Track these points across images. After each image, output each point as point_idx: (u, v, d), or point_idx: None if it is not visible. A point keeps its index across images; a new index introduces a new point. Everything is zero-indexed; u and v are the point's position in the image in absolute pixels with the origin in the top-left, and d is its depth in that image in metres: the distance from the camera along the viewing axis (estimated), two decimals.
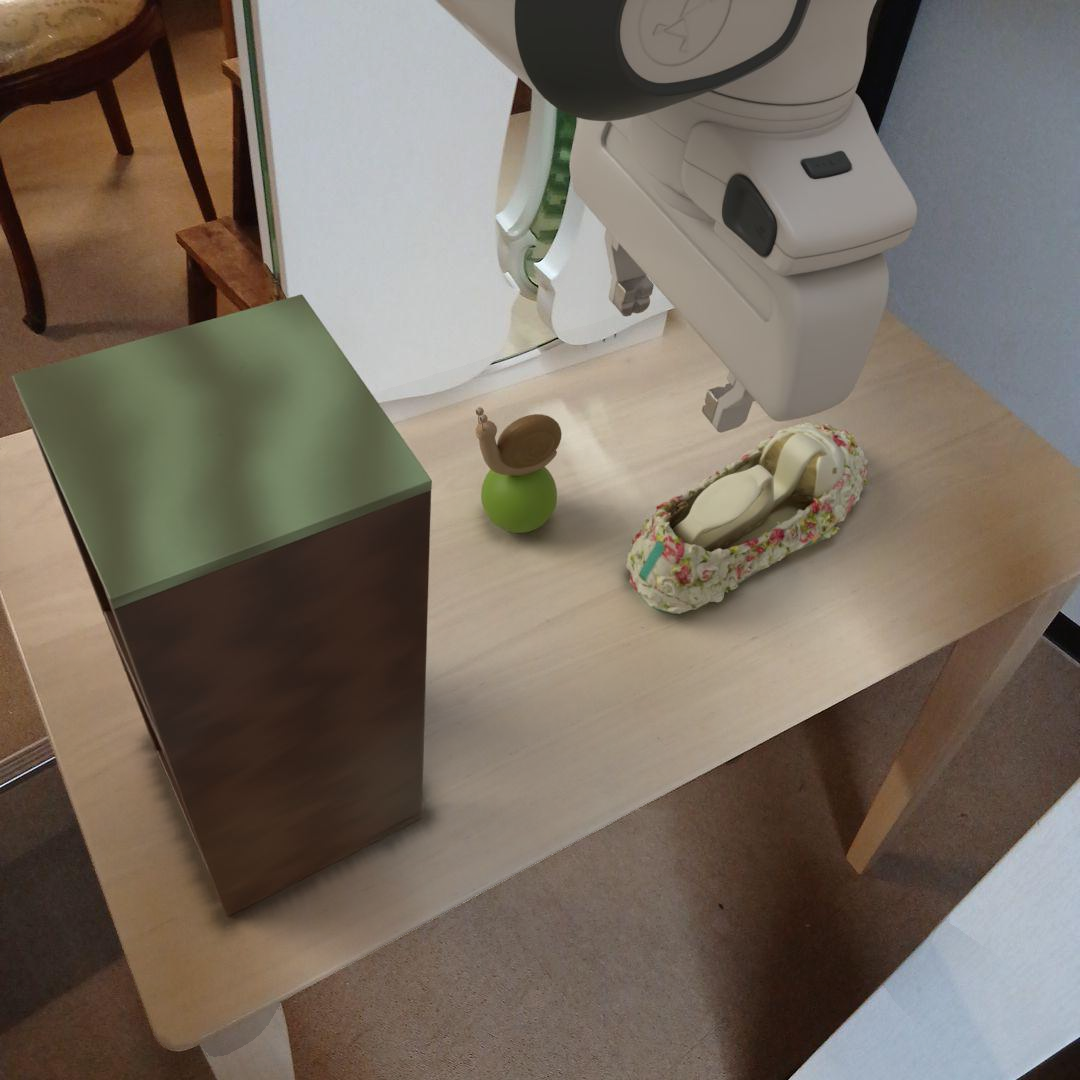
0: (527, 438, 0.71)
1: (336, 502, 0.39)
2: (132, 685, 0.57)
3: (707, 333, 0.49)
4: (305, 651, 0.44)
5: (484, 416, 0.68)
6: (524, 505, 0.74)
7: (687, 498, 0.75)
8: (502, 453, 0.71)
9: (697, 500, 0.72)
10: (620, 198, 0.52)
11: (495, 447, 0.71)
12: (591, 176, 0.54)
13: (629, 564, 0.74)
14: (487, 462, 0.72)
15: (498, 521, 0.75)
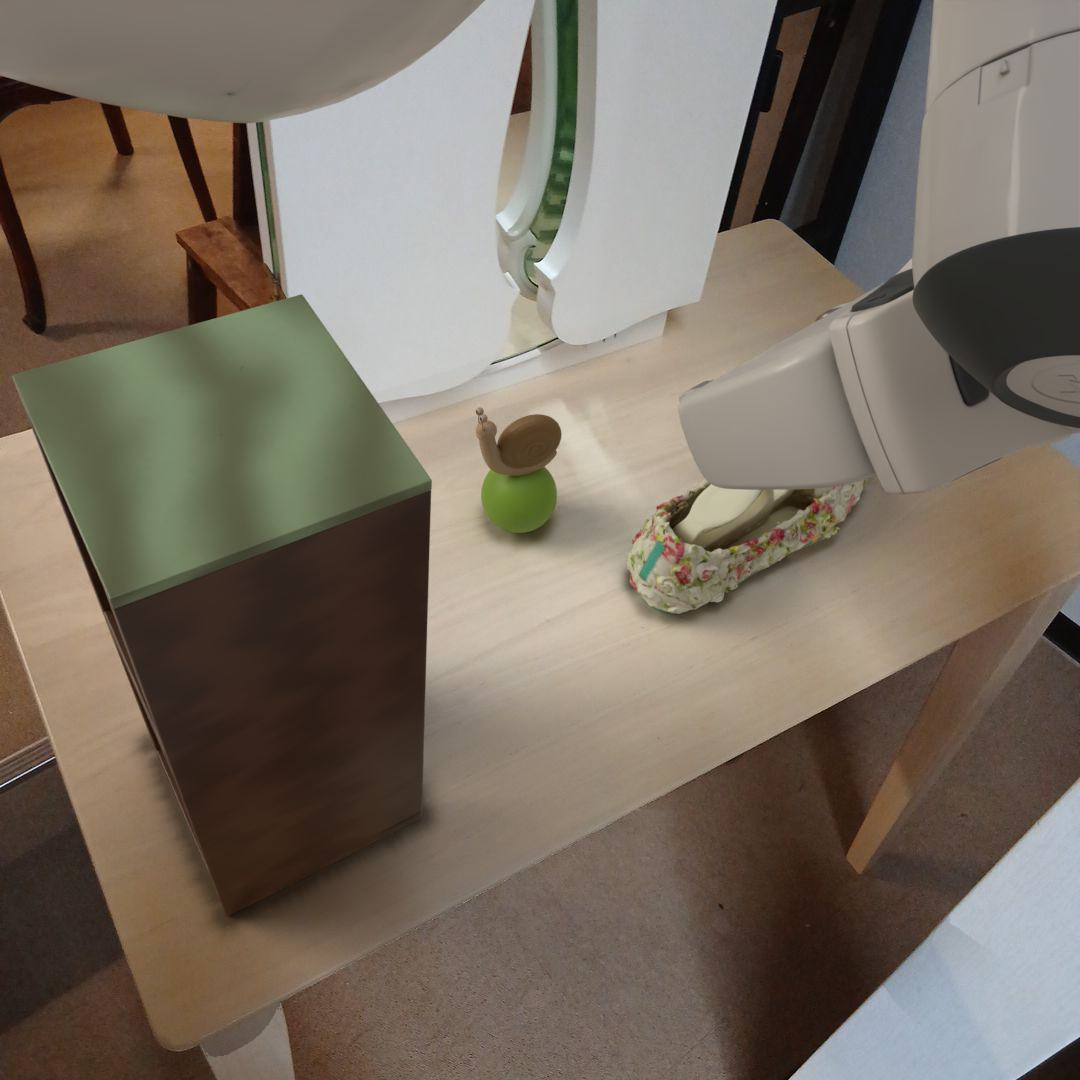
0: (527, 438, 0.71)
1: (336, 502, 0.39)
2: (132, 685, 0.57)
3: (781, 343, 0.43)
4: (305, 651, 0.44)
5: (484, 416, 0.68)
6: (524, 505, 0.74)
7: (687, 498, 0.75)
8: (502, 453, 0.71)
9: (697, 500, 0.72)
10: None
11: (495, 447, 0.71)
12: None
13: (629, 564, 0.74)
14: (487, 462, 0.72)
15: (498, 521, 0.75)
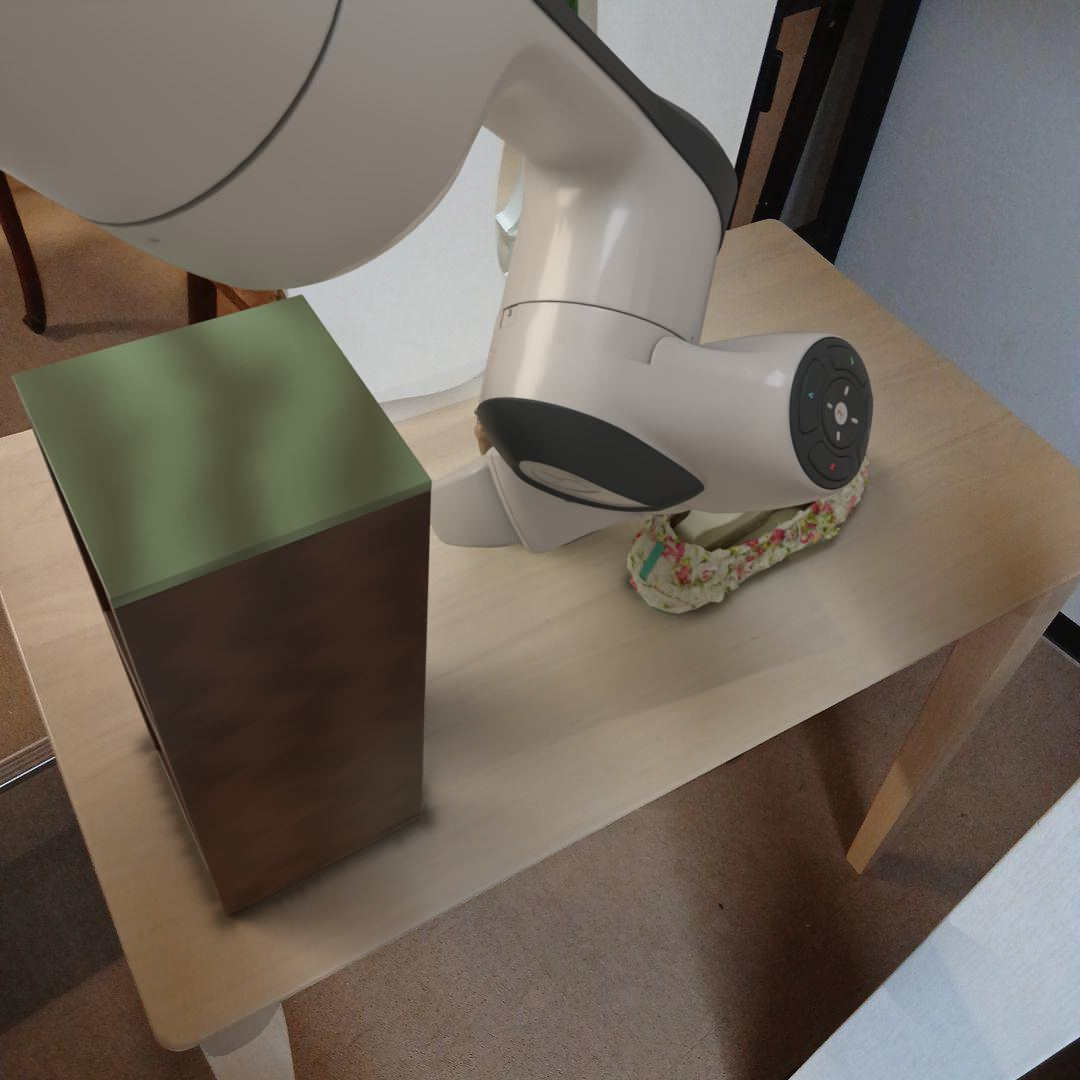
0: None
1: (336, 502, 0.39)
2: (132, 685, 0.57)
3: None
4: (305, 651, 0.44)
5: None
6: None
7: None
8: None
9: None
10: None
11: None
12: None
13: (629, 564, 0.74)
14: None
15: None
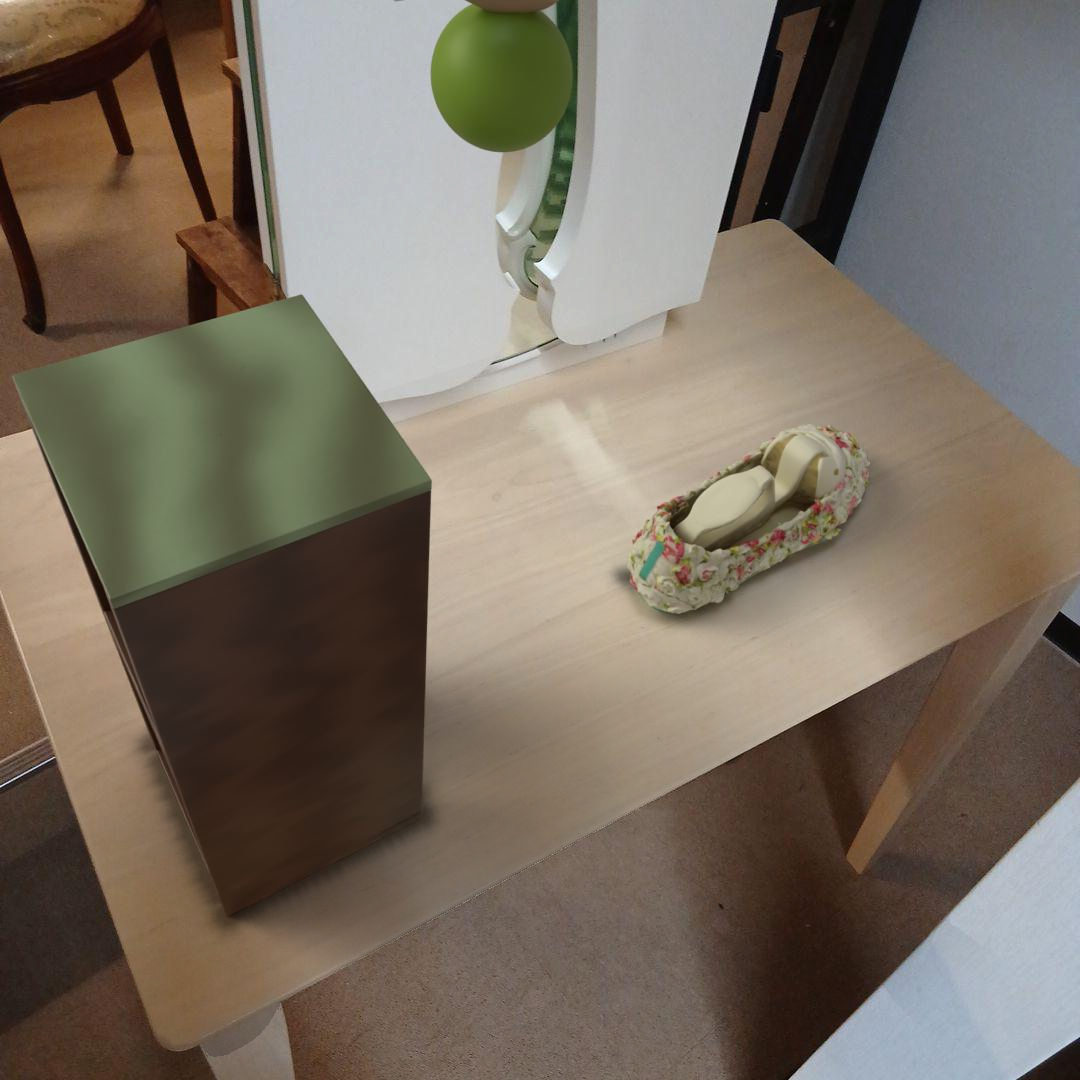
0: None
1: (336, 502, 0.39)
2: (132, 685, 0.57)
3: None
4: (305, 651, 0.44)
5: None
6: (498, 67, 0.38)
7: (688, 498, 0.75)
8: None
9: (698, 500, 0.72)
10: None
11: None
12: None
13: (629, 564, 0.74)
14: None
15: (451, 107, 0.40)
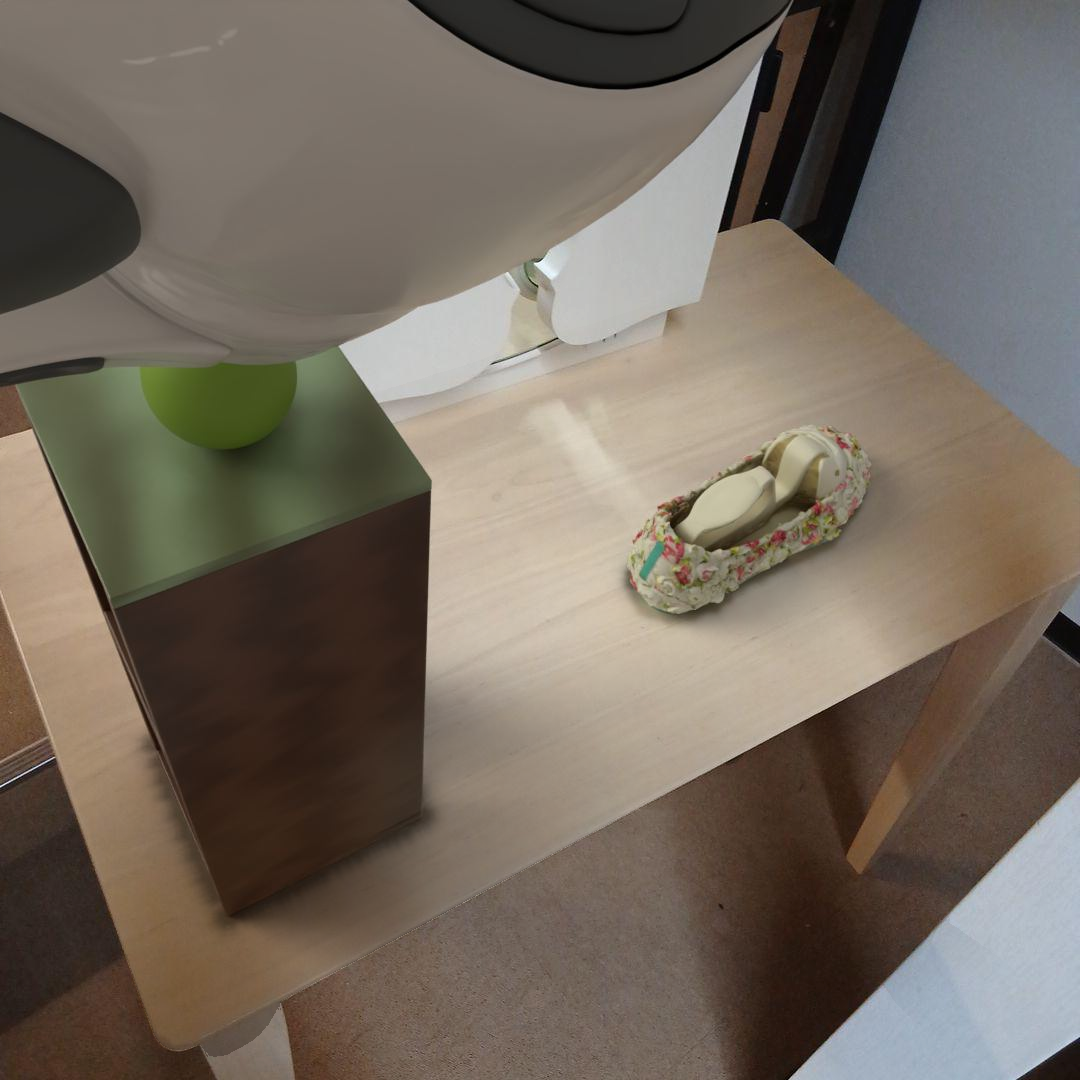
0: None
1: (336, 502, 0.39)
2: (132, 685, 0.57)
3: None
4: (305, 651, 0.44)
5: None
6: (196, 386, 0.36)
7: (688, 498, 0.75)
8: None
9: (698, 500, 0.72)
10: None
11: None
12: None
13: (629, 564, 0.74)
14: None
15: (157, 416, 0.37)
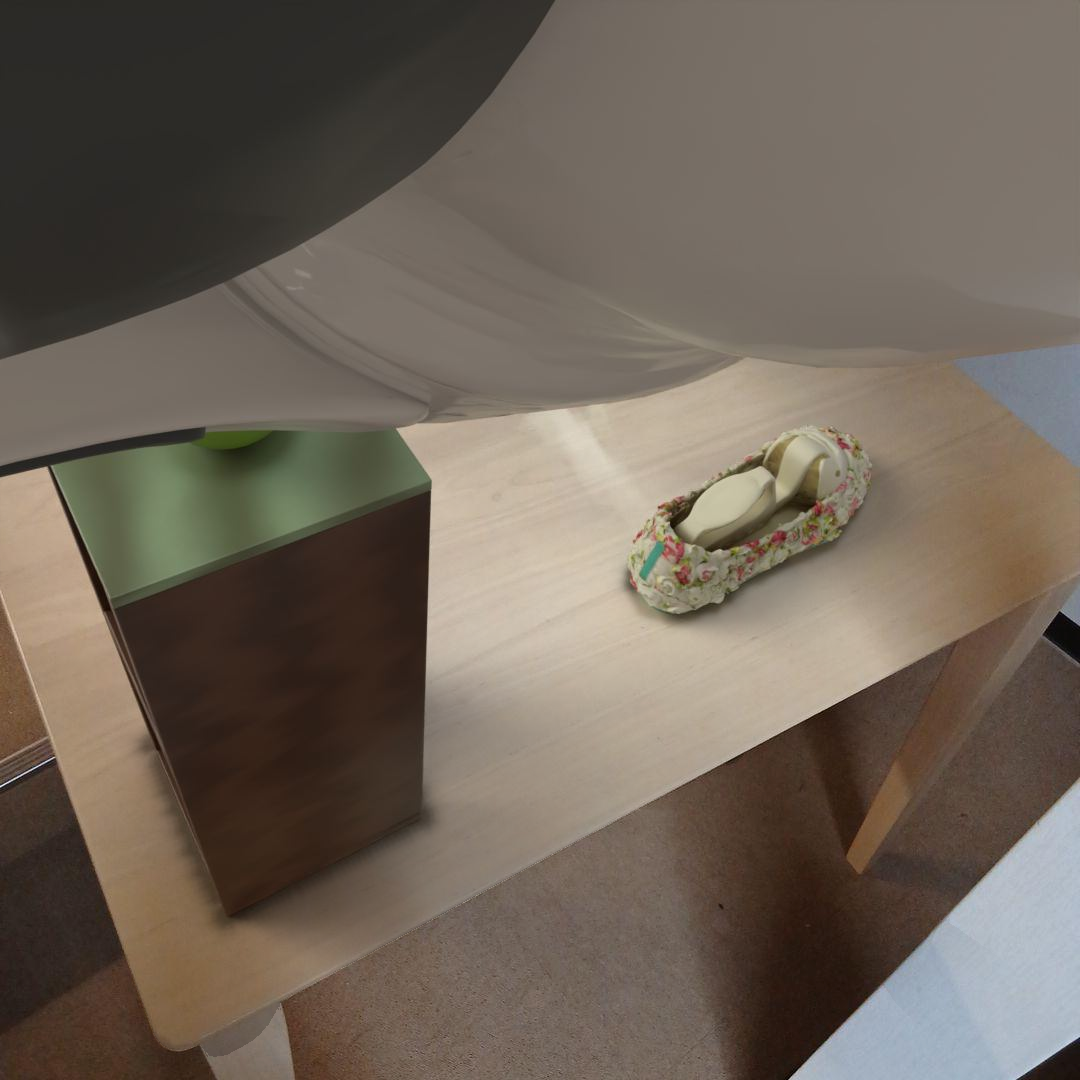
0: None
1: (336, 502, 0.39)
2: (132, 685, 0.57)
3: None
4: (305, 651, 0.44)
5: None
6: None
7: (689, 499, 0.75)
8: None
9: (698, 500, 0.72)
10: None
11: None
12: None
13: (630, 564, 0.74)
14: None
15: None
